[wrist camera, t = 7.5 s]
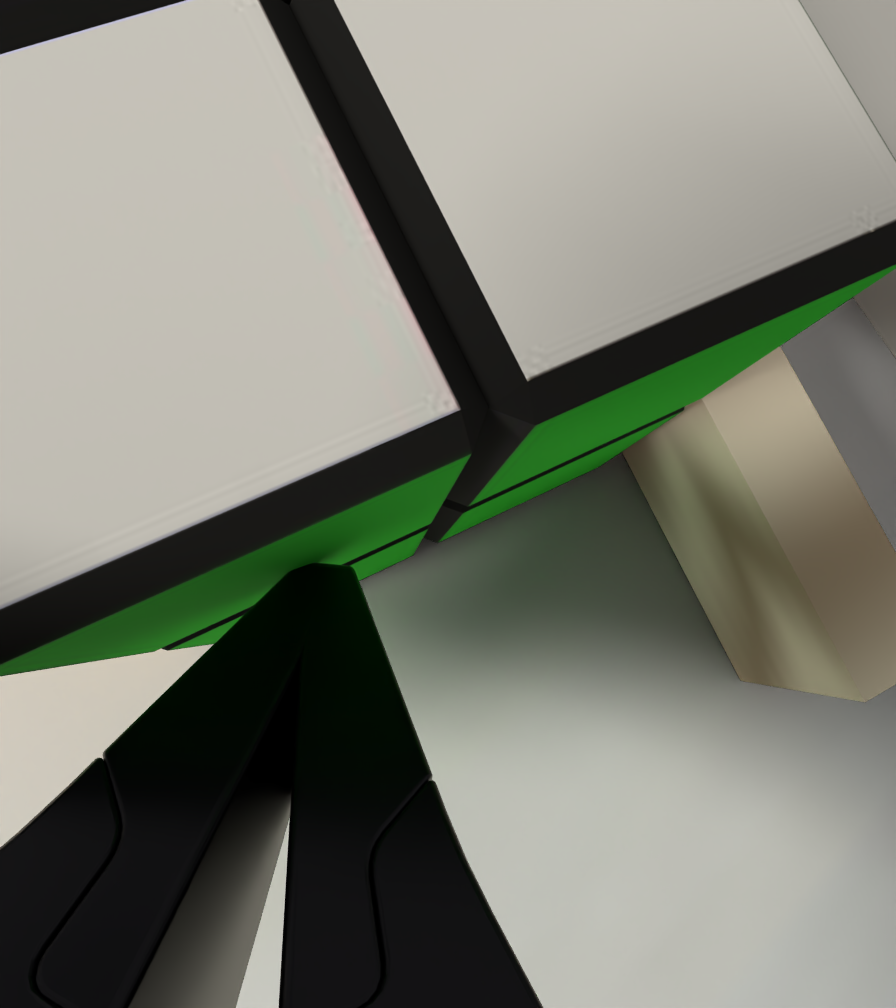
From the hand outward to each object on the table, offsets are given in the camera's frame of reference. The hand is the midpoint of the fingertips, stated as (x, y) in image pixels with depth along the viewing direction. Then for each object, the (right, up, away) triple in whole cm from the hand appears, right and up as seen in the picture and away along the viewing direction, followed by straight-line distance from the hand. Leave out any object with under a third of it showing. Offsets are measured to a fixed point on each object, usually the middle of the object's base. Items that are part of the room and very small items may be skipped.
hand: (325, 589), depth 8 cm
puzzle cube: (-1, +4, +8) cm, 9 cm away
